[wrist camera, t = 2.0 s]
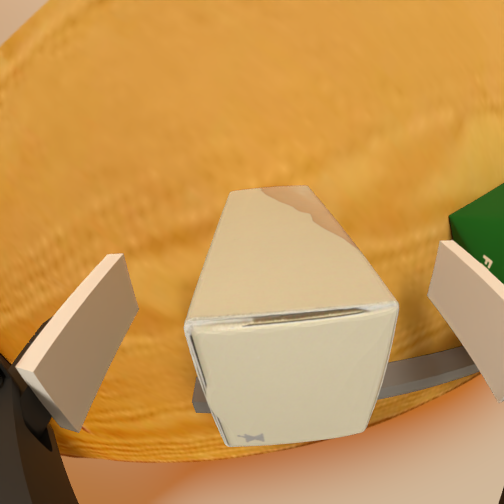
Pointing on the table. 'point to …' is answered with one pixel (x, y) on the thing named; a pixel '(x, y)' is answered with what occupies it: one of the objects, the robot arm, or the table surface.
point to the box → (288, 322)
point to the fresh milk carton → (483, 230)
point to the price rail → (401, 375)
